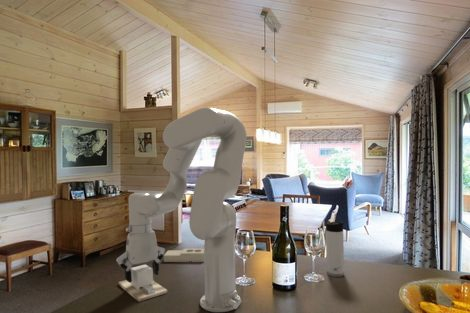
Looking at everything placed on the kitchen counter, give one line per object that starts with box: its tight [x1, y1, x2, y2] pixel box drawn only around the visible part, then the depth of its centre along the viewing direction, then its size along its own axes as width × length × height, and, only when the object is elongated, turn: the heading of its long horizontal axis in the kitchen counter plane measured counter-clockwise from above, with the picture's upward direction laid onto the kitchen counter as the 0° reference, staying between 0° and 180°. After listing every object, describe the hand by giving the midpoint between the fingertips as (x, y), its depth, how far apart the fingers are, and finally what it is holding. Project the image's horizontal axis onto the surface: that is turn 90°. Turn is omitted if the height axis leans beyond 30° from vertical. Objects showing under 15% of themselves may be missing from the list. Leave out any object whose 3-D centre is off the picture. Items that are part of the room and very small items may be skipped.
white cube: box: [130, 263, 154, 290], centre depth 114 cm, size 6×6×6 cm
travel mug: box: [325, 221, 345, 278], centre depth 124 cm, size 6×7×20 cm
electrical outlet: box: [163, 248, 204, 263], centre depth 145 cm, size 7×4×18 cm
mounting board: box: [118, 279, 168, 303], centre depth 114 cm, size 18×10×1 cm, turn 39°
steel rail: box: [140, 285, 156, 294], centre depth 114 cm, size 16×2×1 cm, turn 39°
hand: (142, 277), depth 114 cm, fingers open, 9 cm apart
